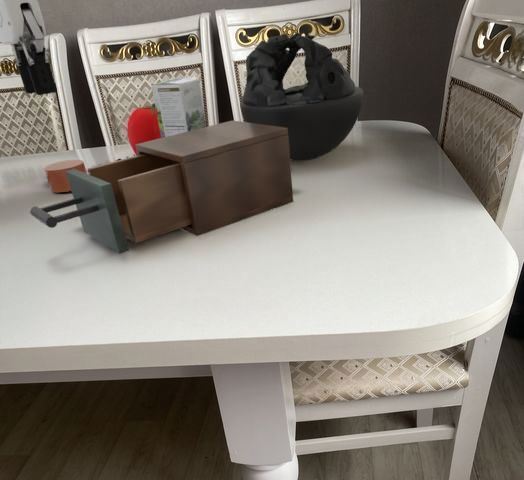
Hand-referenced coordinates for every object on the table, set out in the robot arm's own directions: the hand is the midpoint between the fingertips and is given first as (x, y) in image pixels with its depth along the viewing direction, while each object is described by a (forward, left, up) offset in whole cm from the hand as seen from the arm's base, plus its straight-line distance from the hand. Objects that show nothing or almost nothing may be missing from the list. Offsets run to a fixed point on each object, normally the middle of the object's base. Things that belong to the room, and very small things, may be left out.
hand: (41, 91), depth 83 cm
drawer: (-4, -33, -14) cm, 36 cm away
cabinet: (+10, -33, -15) cm, 38 cm away
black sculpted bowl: (+34, -23, -16) cm, 44 cm away
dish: (0, 0, -15) cm, 15 cm away
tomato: (+19, +1, -16) cm, 25 cm away
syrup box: (+18, -11, -16) cm, 26 cm away
